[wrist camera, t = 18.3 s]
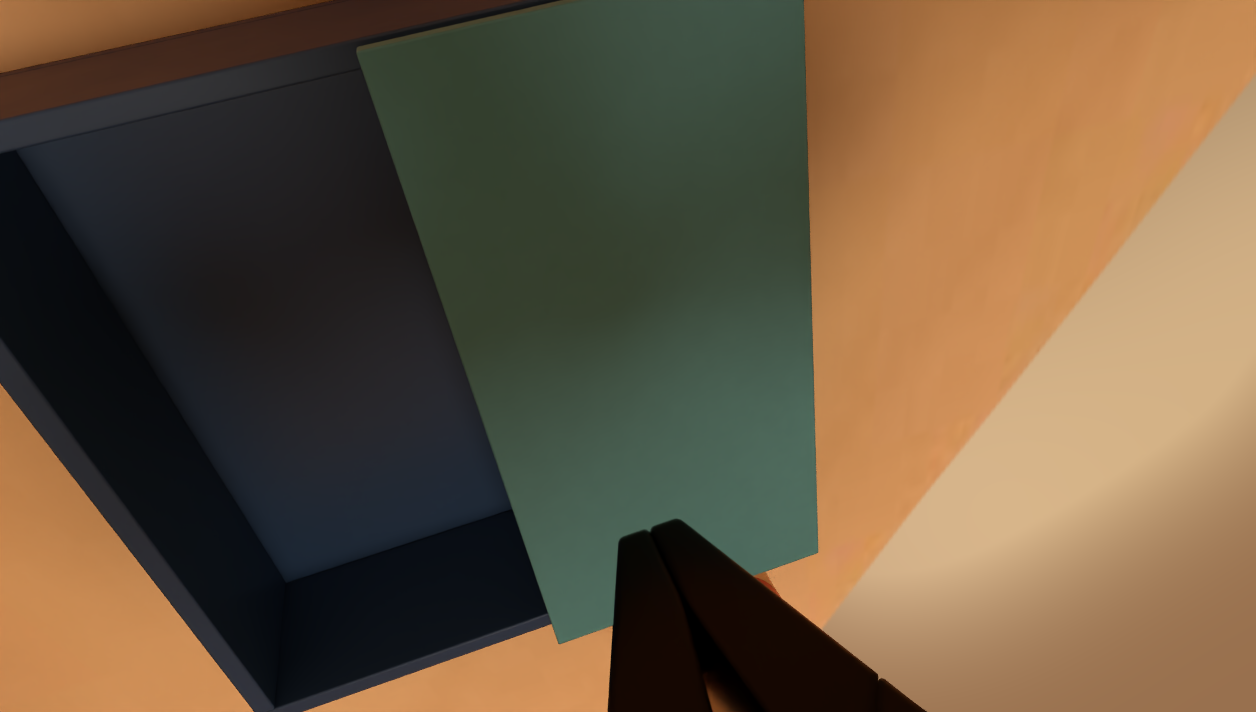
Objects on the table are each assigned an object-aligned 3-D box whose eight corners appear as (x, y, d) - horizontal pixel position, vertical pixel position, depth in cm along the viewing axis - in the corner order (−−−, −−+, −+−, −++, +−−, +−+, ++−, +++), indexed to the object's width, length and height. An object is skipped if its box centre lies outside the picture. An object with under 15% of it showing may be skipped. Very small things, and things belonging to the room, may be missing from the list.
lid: (793, -54, 14) (802, -51, 14) (812, 543, 23) (818, 553, 23) (356, 46, 13) (355, 51, 13) (556, 633, 22) (558, 645, 22)
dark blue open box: (691, -79, 18) (787, -60, 14) (741, 434, 28) (808, 534, 24) (-43, 82, 16) (-175, 159, 12) (278, 585, 25) (264, 726, 21)
